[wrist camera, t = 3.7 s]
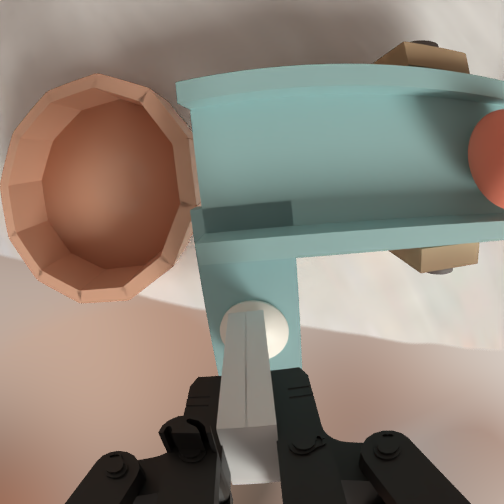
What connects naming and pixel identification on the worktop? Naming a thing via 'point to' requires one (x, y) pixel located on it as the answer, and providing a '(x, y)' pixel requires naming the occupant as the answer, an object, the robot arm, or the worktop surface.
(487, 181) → the ball
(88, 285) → the bowl
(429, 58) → the stand
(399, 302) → the worktop surface
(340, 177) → the lever
